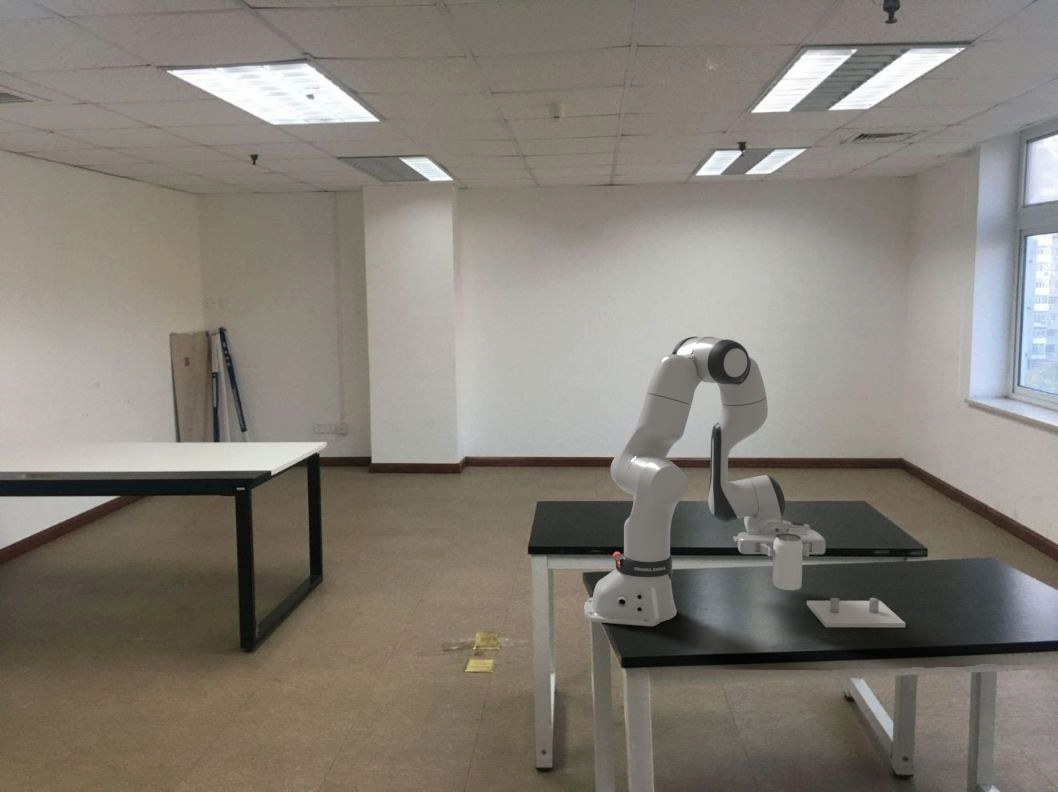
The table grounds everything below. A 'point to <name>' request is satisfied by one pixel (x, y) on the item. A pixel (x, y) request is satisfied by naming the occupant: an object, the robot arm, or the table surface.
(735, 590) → the table surface
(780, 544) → the can
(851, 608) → the pin plate
